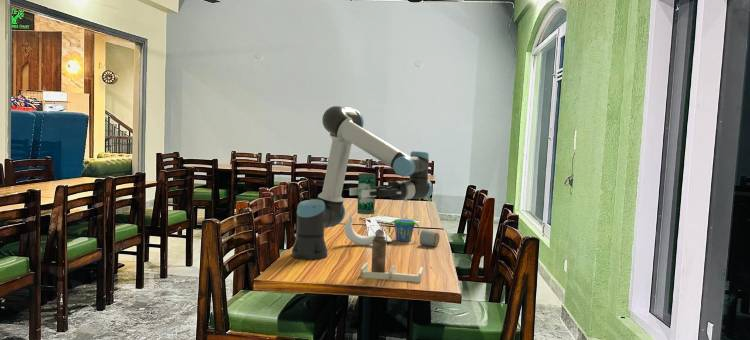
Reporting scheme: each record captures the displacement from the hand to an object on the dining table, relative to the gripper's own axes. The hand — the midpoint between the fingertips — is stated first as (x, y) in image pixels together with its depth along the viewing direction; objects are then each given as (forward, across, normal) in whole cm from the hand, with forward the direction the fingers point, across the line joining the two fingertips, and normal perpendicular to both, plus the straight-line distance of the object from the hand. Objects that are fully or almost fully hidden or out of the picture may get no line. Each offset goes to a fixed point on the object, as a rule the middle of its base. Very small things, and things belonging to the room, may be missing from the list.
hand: (356, 192), depth 205 cm
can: (-5, 0, -8) cm, 10 cm away
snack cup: (-64, +39, -31) cm, 81 cm away
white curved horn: (-38, +40, -31) cm, 63 cm away
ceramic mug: (-67, +24, -31) cm, 78 cm away
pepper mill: (-5, -8, -30) cm, 31 cm away
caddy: (-8, -12, -31) cm, 34 cm away
